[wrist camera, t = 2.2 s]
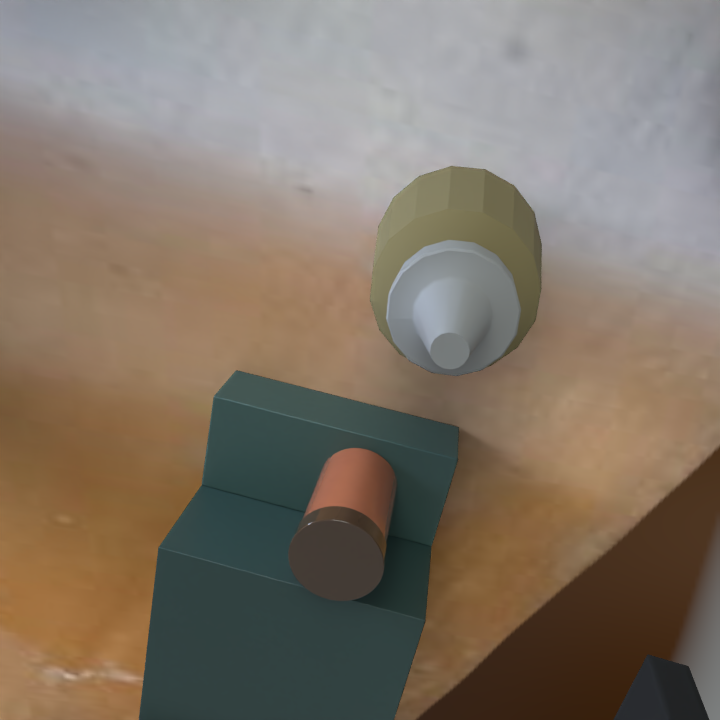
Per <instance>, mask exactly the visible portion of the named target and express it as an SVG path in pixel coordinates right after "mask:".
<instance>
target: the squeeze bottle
mask: <svg viewBox="0 0 720 720" xmlns="http://www.w3.org/2000/svg"><path fill="white" fill-rule="evenodd" d="M541 258H542V244H541V239H540V235H539V231H538V226H537V222H536V218H535V213H534V211H533V210H532V209H531V207H530V206H529V205H528V203H527V202H526V201H525V199H524V198H523V197H522V195H521V194H520V193H519V191H518V190H517V189H516V187H515V186H514V185H512V184H510V183H509V182H507V181H505V180H503V179H501V178H500V177H498V176H496V175H494V174H492V173H491V172H489V171H487V170H485V169H476V168H465V167H455V166H450V167H447V168H444V169H440V170H437V171H434V172H431V173H428V174H424V175H421V176H419V177H418V178H416V179H415V180H414V181H413V182H412V183H410V184H409V185H408V186H407V187H406V188H404V189H403V190H402V191H401V192H400V193H398V194H397V195H396V196H395V197H394V198H393V200H392V202H391V203H390V205H389V207H388V209H387V211H386V213H385V215H384V217H383V219H382V221H381V222H380V224H379V227H378V234H377V242H376V249H375V257H374V264H373V273H372V284H371V295H370V302H371V305H372V308H373V311H374V314H375V317H376V321H377V324H378V327H379V330H380V331H381V332H382V334H383V335H384V336H385V337H386V338H387V340H388V341H389V342H390V343H391V344H392V346H393V347H394V348H395V349H396V350H397V351H398V353H399V354H400V355H402V356H404V357H406V358H407V359H408V360H409V361H411V362H412V363H414V364H416V365H418V366H420V367H422V368H424V369H425V370H427V371H429V372H431V373H437V374H445V375H452V376H459V375H463V374H468V373H472V372H476V371H480V370H483V369H484V368H486V367H488V366H491V365H492V364H494V363H495V362H497V361H498V360H500V359H501V358H503V357H504V356H506V355H507V354H509V353H510V352H511V351H513V350H514V349H516V348H517V347H518V346H519V344H520V343H521V341H522V340H523V338H524V337H525V335H526V334H527V332H528V331H529V329H530V328H531V326H532V325H533V323H534V322H535V319H536V314H537V309H538V303H539V298H540V293H541Z"/></svg>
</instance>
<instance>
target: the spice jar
mask: <svg viewBox="0 0 720 720" xmlns="http://www.w3.org/2000/svg"><path fill="white" fill-rule="evenodd" d="M396 491H397V479H396V475H395V473H394V470H393V469H392V467H391V466H390V464H389V463H388V462H387V461H386V460H385V459H384V458H383V457H381V456H380V455H378V454H377V453H375V452H373V451H370V450H367V449H362V448H349V449H344V450H341V451H339V452H337V453H335V454H333V455H332V456H331V457H330V458H329V459H328V460H327V461H326V462H325V464H324V466H323V468H322V470H321V473H320V475H319V478H318V480H317V483H316V485H315V488H314V490H313V493H312V495H311V498H310V500H309V503H308V505H307V508H306V510H305V513H304V515H303V518H302V520H301V521H300V523H299V524H298V526H297V528H296V530H295V532H294V535H293V537H292V540H291V542H290V546H289V550H288V560H289V565H290V568H291V570H292V572H293V574H294V576H295V577H296V579H297V580H298V581H299V582H300V584H301V585H302V586H304V587H305V588H306V589H307V590H309V591H310V592H312V593H313V594H315V595H317V596H320V597H322V598H325V599H329V600H334V601H350V600H355V599H358V598H361V597H363V596H365V595H367V594H369V593H370V592H371V591H372V590H374V589H375V588H376V586H377V585H378V584H379V582H380V581H381V579H382V576H383V573H384V568H385V562H386V557H387V540H388V534H389V529H390V523H391V518H392V512H393V507H394V501H395V496H396Z"/></svg>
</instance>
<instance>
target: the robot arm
mask: <svg viewBox="0 0 720 720" xmlns="http://www.w3.org/2000/svg"><path fill="white" fill-rule="evenodd" d="M614 720H709V718H708V715H707V713H706V710H705V707H704V705H703V703H702V700H701V697H700V695H699V692H698V690H697V687H696V684H695V682H694V679H693V677H692V674H691V671H690V669H689V667H688V666H686V665H682V664H679V663H675V662H672V661H668V660H665V659H662V658H658V657H655V656H651V655H647V657H646V659H645V661H644V662H643V664H642V667H641V669H640V670H639V672H638V674H637V676H636V678H635V680H634V682H633V684H632V686H631V688H630V689H629V691H628V693H627V695H626V697H625V699H624V701H623V703H622V705H621V707H620V708H619V710H618V713H617V714H616V716H615V718H614Z"/></svg>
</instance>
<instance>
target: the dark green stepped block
mask: <svg viewBox="0 0 720 720" xmlns="http://www.w3.org/2000/svg"><path fill="white" fill-rule="evenodd" d="M458 442H459V427H456V426H452V425H448V424H444V423H440V422H436V421H433V420H429V419H425V418H421V417H417V416H413V415H409V414H405V413H401V412H397V411H393V410H390V409H386V408H382V407H378V406H374V405H370V404H366V403H362V402H358V401H354V400H351V399H347V398H343V397H339V396H335V395H331V394H327V393H323V392H319V391H315V390H311V389H308V388H304V387H300V386H296V385H292V384H288V383H284V382H280V381H276V380H272V379H268V378H265V377H261V376H257V375H253V374H249V373H245V372H241V371H235V372H234V374H233V375H232V376H231V377H230V378H229V379H228V381H227V382H226V383H225V384H224V385H223V386H222V388H221V389H220V390H219V391H218V392H217V393H216V395H215V396H214V399H213V406H212V413H211V421H210V428H209V435H208V442H207V450H206V457H205V464H204V471H203V478H202V485H201V487H200V488H199V490H198V491H197V493H196V494H195V496H194V497H193V498H192V500H191V501H190V503H189V504H188V506H187V507H186V509H185V510H184V511H183V513H182V514H181V516H180V517H179V519H178V520H177V522H176V523H175V524H174V526H173V527H172V529H171V530H170V532H169V533H168V535H167V536H166V537H165V539H164V540H163V542H162V543H161V545H160V546H159V548H158V557H157V566H156V574H155V583H154V592H153V601H152V610H151V618H150V627H149V636H148V645H147V653H146V662H145V671H144V680H143V688H142V697H141V706H140V715H139V720H394V718H395V715H396V712H397V708H398V705H399V702H400V699H401V696H402V693H403V690H404V686H405V683H406V680H407V677H408V674H409V671H410V668H411V664H412V661H413V658H414V655H415V652H416V649H417V645H418V642H419V639H420V636H421V633H422V630H423V627H424V623H425V619H426V607H427V595H428V583H429V571H430V558H431V546H432V543H433V540H434V537H435V534H436V530H437V527H438V524H439V521H440V517H441V514H442V511H443V507H444V504H445V501H446V498H447V494H448V491H449V488H450V484H451V481H452V478H453V475H454V471H455V468H456V465H457V462H458ZM349 448H362V449H367V450H370V451H373V452H375V453H377V454H378V455H380V456H381V457H383V458H384V459H385V460H386V461H387V462H388V463H389V464H390V466H391V467H392V469H393V470H394V473H395V475H396V479H397V491H396V496H395V501H394V507H393V512H392V518H391V523H390V529H389V534H388V540H387V557H386V562H385V568H384V573H383V576H382V579H381V581H380V582H379V584H378V585H377V586H376V588H375V589H374V590H372V591H371V592H370V593H369V594H367V595H365V596H363V597H361V598H358V599H355V600H350V601H334V600H329V599H325V598H322V597H320V596H317V595H315V594H313V593H312V592H310V591H309V590H307V589H306V588H305V587H304V586H302V585H301V584H300V582H299V581H298V580H297V579H296V577H295V576H294V574H293V572H292V570H291V568H290V565H289V560H288V550H289V546H290V542H291V540H292V537H293V535H294V532H295V530H296V528H297V526H298V524H299V523H300V521H301V520H302V518H303V515H304V513H305V510H306V508H307V505H308V503H309V500H310V498H311V495H312V493H313V490H314V488H315V485H316V483H317V480H318V478H319V475H320V473H321V470H322V468H323V466H324V464H325V462H326V461H327V460H328V459H329V458H330V457H331V456H332V455H333V454H335V453H337V452H339V451H341V450H344V449H349Z"/></svg>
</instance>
